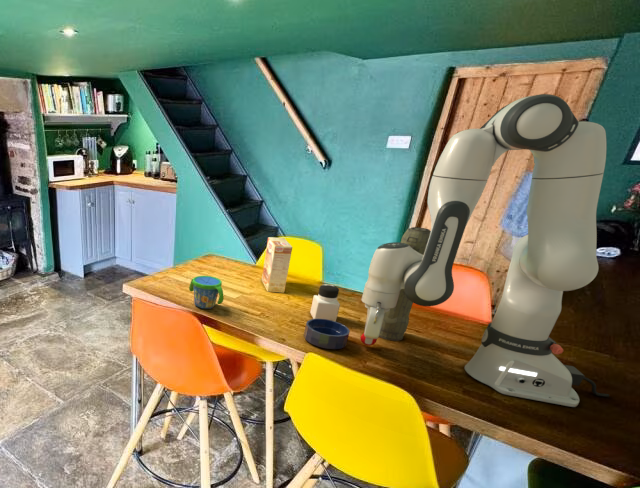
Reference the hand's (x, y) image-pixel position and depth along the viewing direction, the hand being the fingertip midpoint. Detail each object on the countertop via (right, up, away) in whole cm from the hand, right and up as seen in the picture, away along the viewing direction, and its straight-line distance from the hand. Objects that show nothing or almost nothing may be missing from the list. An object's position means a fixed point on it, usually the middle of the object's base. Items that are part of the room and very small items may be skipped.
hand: (368, 339), depth 122 cm
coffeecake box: (-11, +18, +50) cm, 54 cm away
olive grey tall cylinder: (+12, +1, +10) cm, 15 cm away
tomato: (0, -2, +1) cm, 2 cm away
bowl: (-11, -1, +4) cm, 12 cm away
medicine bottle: (-4, +6, +21) cm, 22 cm away
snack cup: (-45, +10, +28) cm, 54 cm away
